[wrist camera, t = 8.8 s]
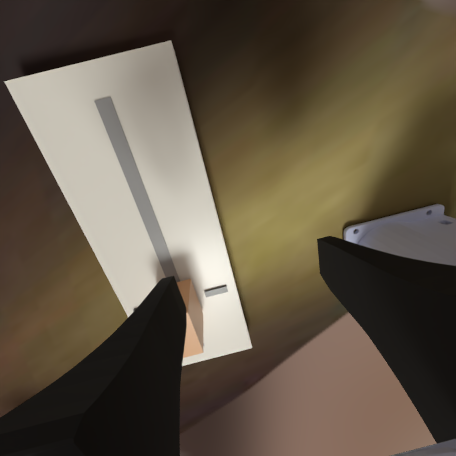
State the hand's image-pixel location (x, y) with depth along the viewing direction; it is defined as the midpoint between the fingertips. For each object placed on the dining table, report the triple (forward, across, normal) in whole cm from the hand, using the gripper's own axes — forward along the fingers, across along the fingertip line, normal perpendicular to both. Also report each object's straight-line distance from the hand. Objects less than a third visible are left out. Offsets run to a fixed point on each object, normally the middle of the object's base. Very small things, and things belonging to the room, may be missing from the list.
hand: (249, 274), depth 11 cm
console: (+9, +6, +1) cm, 11 cm away
